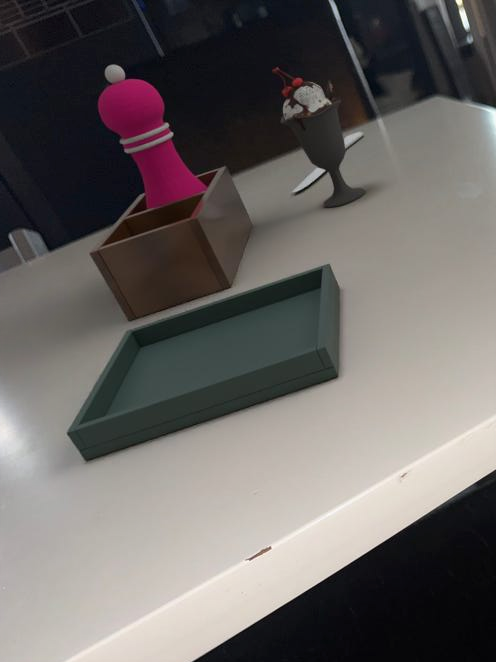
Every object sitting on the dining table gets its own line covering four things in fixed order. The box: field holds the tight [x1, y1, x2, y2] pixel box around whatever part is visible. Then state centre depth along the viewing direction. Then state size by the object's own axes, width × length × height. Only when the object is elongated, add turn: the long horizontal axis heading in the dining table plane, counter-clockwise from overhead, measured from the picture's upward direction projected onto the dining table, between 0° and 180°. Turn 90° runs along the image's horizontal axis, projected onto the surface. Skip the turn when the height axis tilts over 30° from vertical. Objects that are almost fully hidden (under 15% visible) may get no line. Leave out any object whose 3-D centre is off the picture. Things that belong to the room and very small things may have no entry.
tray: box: [66, 263, 341, 462], centre depth 56 cm, size 17×15×2 cm
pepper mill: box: [97, 64, 207, 210], centre depth 78 cm, size 7×7×20 cm
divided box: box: [89, 165, 253, 322], centre depth 78 cm, size 10×19×7 cm, turn 10°
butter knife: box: [291, 131, 364, 194], centre depth 103 cm, size 1×24×3 cm
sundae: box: [271, 66, 366, 208], centre depth 82 cm, size 7×7×15 cm
